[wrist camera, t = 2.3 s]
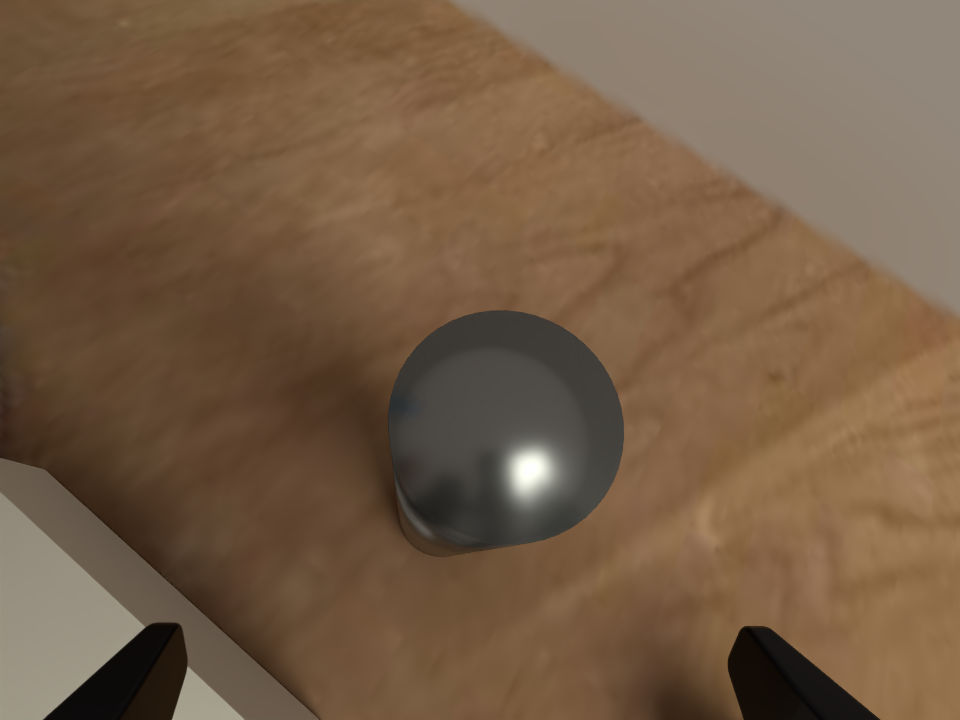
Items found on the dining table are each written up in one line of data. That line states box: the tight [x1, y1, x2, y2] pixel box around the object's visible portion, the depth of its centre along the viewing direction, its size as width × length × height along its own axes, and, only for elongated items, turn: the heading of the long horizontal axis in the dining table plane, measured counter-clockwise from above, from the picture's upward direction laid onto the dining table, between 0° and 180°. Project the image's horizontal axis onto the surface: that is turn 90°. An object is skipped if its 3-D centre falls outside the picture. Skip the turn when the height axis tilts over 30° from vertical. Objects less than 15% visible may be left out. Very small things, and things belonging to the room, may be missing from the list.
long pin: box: [388, 311, 624, 557], centre depth 13 cm, size 3×3×13 cm
